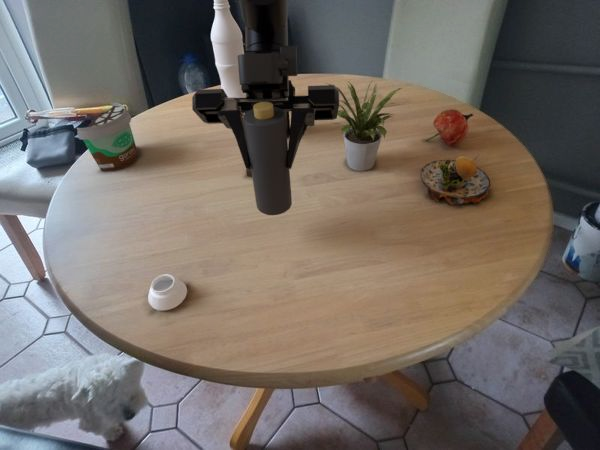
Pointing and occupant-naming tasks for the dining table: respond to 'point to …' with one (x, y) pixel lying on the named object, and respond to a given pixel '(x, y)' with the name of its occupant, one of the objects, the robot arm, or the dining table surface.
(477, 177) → the multicoloured piece
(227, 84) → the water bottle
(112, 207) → the dining table surface
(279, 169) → the grey bottle yellow cap
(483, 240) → the dining table surface
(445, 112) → the pomegranate
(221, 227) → the dining table surface
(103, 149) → the food container
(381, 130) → the house plant
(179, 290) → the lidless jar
